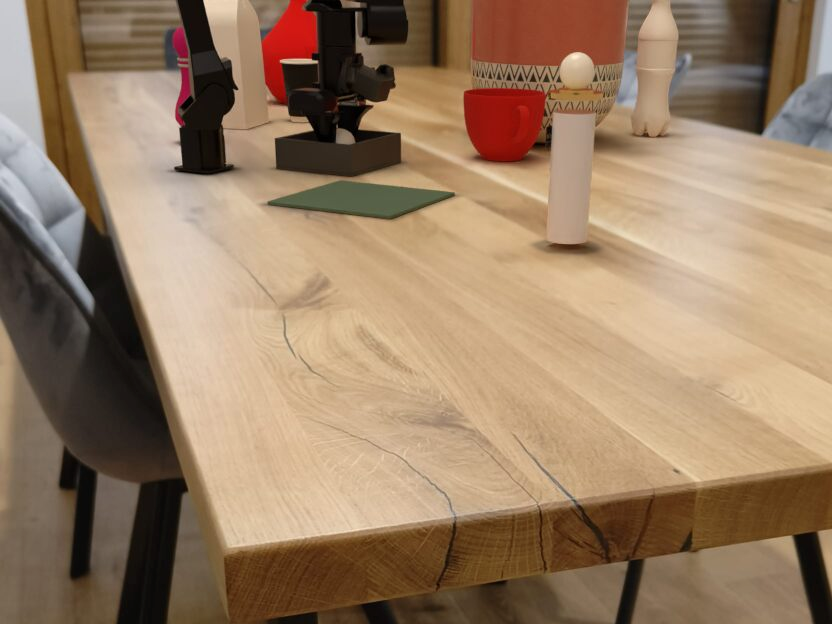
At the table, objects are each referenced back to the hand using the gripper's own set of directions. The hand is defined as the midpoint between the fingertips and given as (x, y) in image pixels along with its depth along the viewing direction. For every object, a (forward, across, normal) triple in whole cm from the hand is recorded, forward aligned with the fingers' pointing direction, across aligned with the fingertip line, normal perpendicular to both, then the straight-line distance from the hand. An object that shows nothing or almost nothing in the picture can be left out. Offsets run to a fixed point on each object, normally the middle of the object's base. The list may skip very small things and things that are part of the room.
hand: (339, 155), depth 170 cm
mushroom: (+1, 0, 0) cm, 1 cm away
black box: (+1, 0, 0) cm, 1 cm away
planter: (+2, +41, -17) cm, 44 cm away
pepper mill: (+2, +8, +33) cm, 34 cm away
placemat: (+2, -22, -17) cm, 28 cm away
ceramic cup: (+2, +18, -20) cm, 27 cm away
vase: (+2, +68, +51) cm, 85 cm away
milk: (+2, +30, +43) cm, 53 cm away
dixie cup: (+2, +42, +34) cm, 54 cm away
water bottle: (+2, +59, -31) cm, 67 cm away
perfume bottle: (+2, -34, -50) cm, 60 cm away
